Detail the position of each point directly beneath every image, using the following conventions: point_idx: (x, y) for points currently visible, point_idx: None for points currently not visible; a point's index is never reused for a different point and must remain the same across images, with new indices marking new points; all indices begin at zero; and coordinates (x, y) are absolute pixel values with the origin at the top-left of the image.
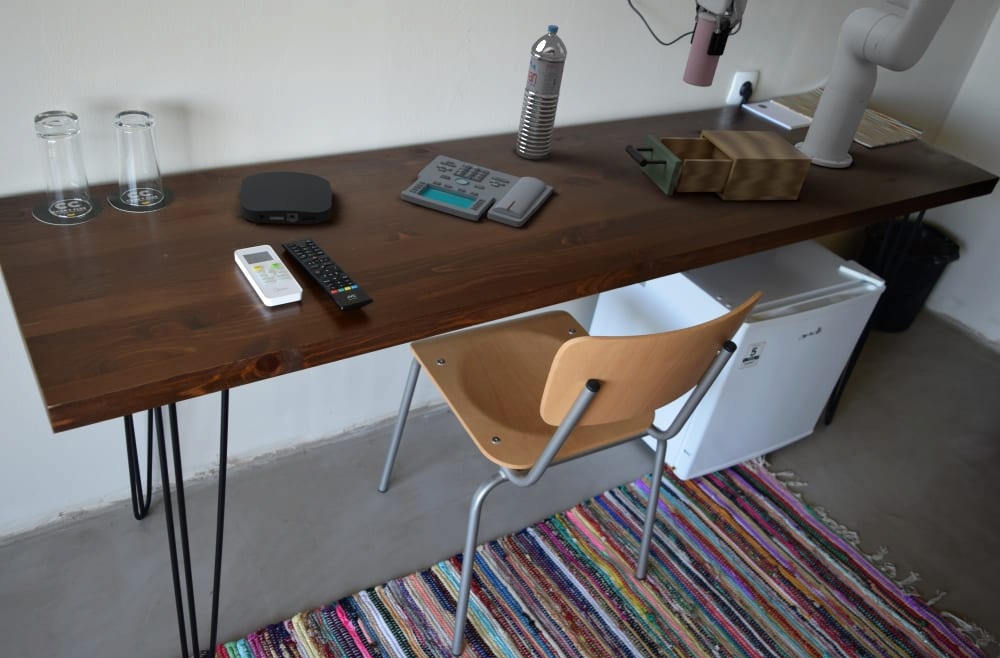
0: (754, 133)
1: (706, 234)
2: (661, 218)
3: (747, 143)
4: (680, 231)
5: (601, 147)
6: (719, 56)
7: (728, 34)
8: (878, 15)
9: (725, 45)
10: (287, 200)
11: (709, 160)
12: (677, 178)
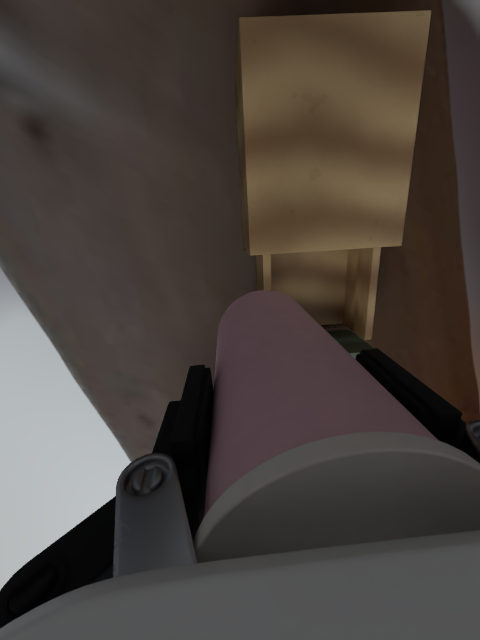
0: (261, 105)
1: (446, 318)
2: (396, 360)
3: (326, 170)
4: (431, 348)
5: (166, 369)
6: (329, 334)
7: (454, 411)
8: None
9: (402, 369)
10: None
11: (373, 293)
12: (316, 311)
